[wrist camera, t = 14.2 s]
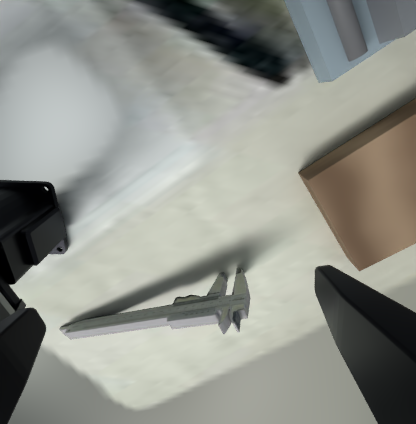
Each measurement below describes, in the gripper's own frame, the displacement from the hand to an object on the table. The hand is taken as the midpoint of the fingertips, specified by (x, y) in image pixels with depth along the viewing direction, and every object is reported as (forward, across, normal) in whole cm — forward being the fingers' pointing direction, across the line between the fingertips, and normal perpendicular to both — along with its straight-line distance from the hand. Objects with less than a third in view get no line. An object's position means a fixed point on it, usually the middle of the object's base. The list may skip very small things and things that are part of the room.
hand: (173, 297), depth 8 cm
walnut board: (+13, -17, +3) cm, 21 cm away
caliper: (+14, +7, +12) cm, 19 cm away
